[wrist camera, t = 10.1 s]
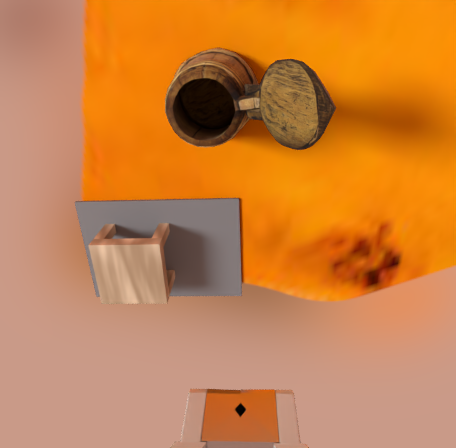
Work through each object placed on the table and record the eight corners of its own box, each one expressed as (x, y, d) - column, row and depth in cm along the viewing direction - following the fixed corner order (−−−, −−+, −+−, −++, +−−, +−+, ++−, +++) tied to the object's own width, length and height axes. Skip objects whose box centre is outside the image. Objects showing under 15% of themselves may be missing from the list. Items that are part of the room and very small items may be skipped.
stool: (159, 244, 41) (88, 245, 42) (167, 303, 45) (101, 303, 45) (168, 223, 46) (105, 224, 47) (175, 277, 50) (116, 278, 50)
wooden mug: (302, 126, 41) (338, 179, 25) (181, 141, 42) (139, 202, 26) (297, 35, 37) (336, 28, 21) (164, 55, 38) (104, 63, 22)
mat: (238, 197, 45) (238, 198, 45) (241, 294, 51) (241, 295, 51) (75, 201, 46) (74, 202, 46) (97, 295, 52) (96, 296, 52)
